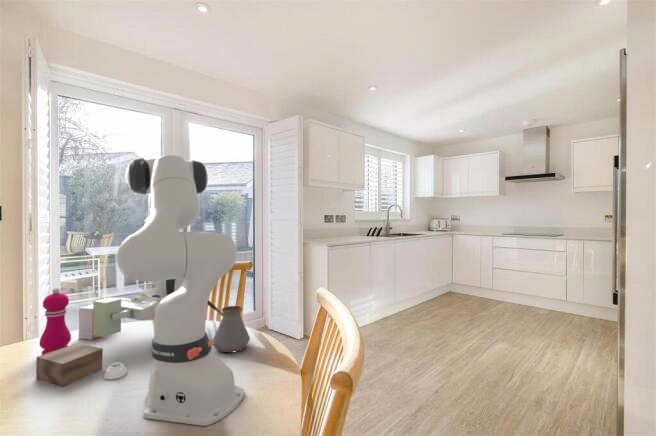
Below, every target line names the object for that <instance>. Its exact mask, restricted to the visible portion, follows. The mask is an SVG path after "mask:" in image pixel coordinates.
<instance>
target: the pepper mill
mask: <svg viewBox="0 0 656 436" xmlns="http://www.w3.org/2000/svg"><path fill="white" fill-rule="evenodd" d="M42 301H43V302H42V307H43V308H44V309H45V310H44V313H45V314H44V316H45V317H46V324H45V329H44V330H43V332H42V334H41V336H40V339H39V347H40V348H42V351H41V355H44V354H47V353H50V352H52V351H55V350H58V349H61V348H64V347H67V346H68V345H69V343H70V342H71V340H72V334H71V331H70V330H69V328H68V326H67V324H66V314H67V313H68V312H67V310H68V308H67V306H68V305H69V303H70V302H69V301H70V298H69V296H68V295H67V294H65V293H61V289H60V288H57V287H55V288H54V289H52V293H50V294H49V295H47V296H46V297H45V298H44V299H43V300H42Z"/></svg>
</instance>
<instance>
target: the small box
mask: <svg viewBox="0 0 656 436" xmlns="http://www.w3.org/2000/svg"><path fill="white" fill-rule="evenodd" d="M99 337H101V336H97V335H93V303H92V304H89V305H85V306H82V307H78V339H79V340H80V339H81V340H94V339H97V338H99Z"/></svg>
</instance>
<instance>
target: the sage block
mask: <svg viewBox="0 0 656 436" xmlns="http://www.w3.org/2000/svg"><path fill="white" fill-rule="evenodd" d="M118 298H119V297H110V296H109V297H105V298H101V299H97V300H93V301H92V302H93V303H92V304H93V335H97V336H100V337H102V338H106V337H109V336H112V335H115V334H118V333H120V332H122V318H121V319H116V320H113V319H110V317H111V316H110V315H111V314H112V313H115V312H121V299H118Z"/></svg>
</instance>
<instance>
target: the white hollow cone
mask: <svg viewBox="0 0 656 436" xmlns="http://www.w3.org/2000/svg"><path fill="white" fill-rule="evenodd" d="M127 372H128V371H127V369H126V367H125V366H124V365H123V363H122V362H114V363H111V364H109V366H108V368H107V369H106V371H105V373H104V374H103V378H104V379H105V380H110V381H111V380H117V379H120V378H122V377H124V376H125V375H126V374H127Z"/></svg>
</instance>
